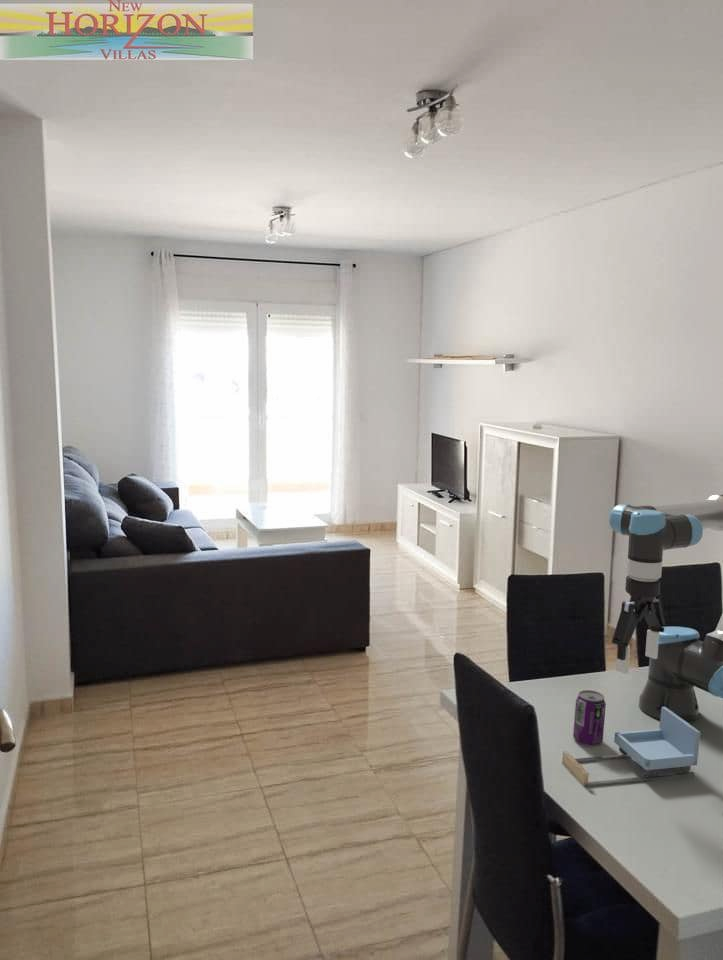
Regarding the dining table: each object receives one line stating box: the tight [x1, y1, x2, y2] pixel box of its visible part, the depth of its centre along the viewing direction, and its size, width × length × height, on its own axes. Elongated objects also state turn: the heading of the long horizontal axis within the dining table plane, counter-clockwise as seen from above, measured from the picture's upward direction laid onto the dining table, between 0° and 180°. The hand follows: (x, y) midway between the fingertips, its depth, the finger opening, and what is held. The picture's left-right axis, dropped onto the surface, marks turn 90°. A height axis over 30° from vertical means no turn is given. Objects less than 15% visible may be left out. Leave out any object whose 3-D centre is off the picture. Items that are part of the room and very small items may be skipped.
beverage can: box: [572, 689, 607, 747], centre depth 187 cm, size 7×7×12 cm
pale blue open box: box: [613, 707, 701, 777], centre depth 176 cm, size 13×13×10 cm
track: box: [561, 750, 695, 788], centre depth 175 cm, size 28×11×3 cm, turn 103°
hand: (637, 664), depth 178 cm, fingers open, 13 cm apart
